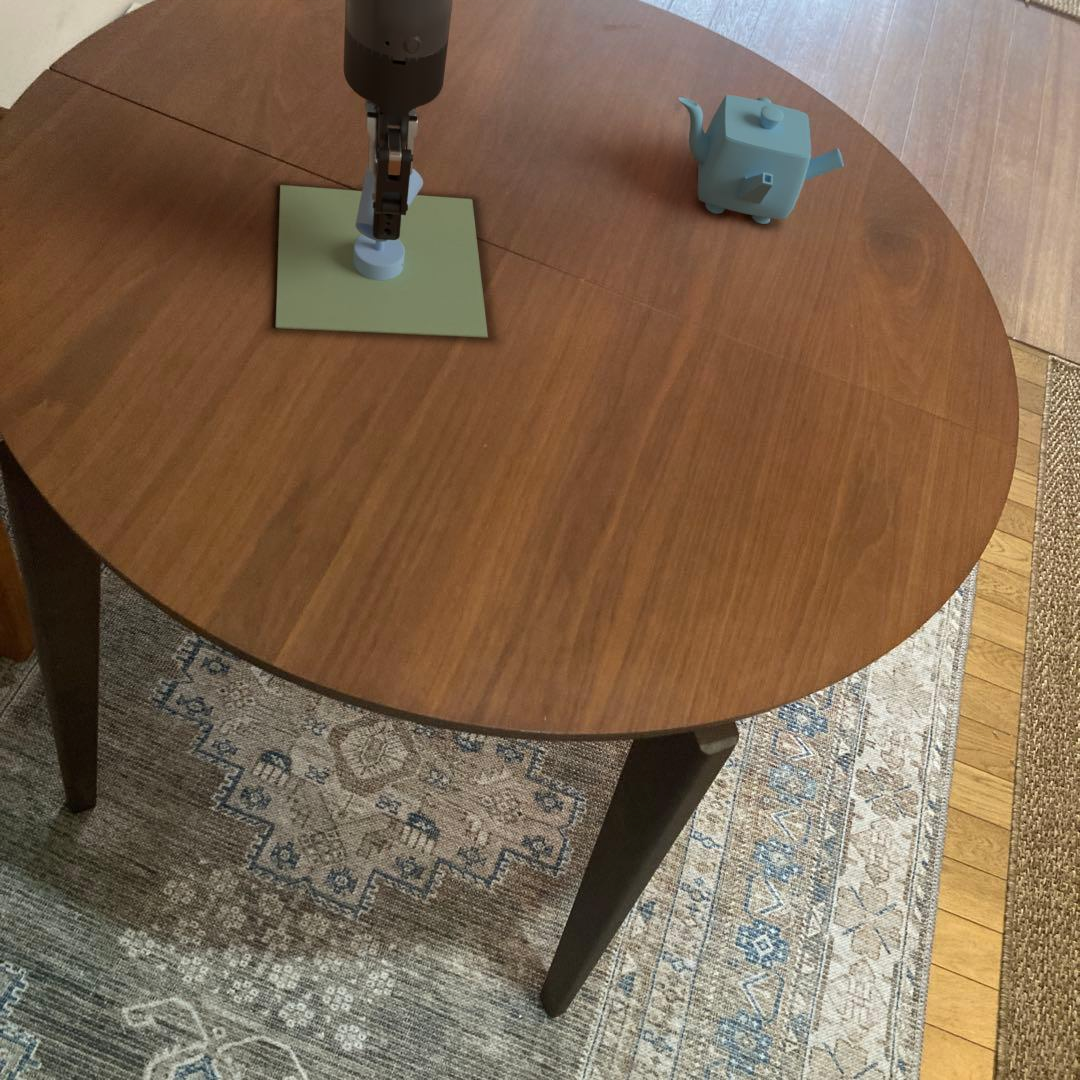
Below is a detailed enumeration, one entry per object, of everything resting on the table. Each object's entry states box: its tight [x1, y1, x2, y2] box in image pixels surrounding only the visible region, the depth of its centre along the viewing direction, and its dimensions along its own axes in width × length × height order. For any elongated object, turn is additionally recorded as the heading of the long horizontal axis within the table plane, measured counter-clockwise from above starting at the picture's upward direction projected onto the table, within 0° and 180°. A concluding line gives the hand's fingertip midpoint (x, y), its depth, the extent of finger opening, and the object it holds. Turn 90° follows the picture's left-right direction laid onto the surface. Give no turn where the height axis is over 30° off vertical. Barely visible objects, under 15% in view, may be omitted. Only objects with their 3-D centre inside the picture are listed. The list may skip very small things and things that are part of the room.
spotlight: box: [353, 159, 424, 280], centre depth 89 cm, size 5×10×7 cm
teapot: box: [678, 94, 845, 225], centre depth 104 cm, size 18×14×10 cm
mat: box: [275, 184, 489, 339], centre depth 94 cm, size 18×18×1 cm
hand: (384, 206), depth 89 cm, fingers closed on spotlight, 7 cm apart
